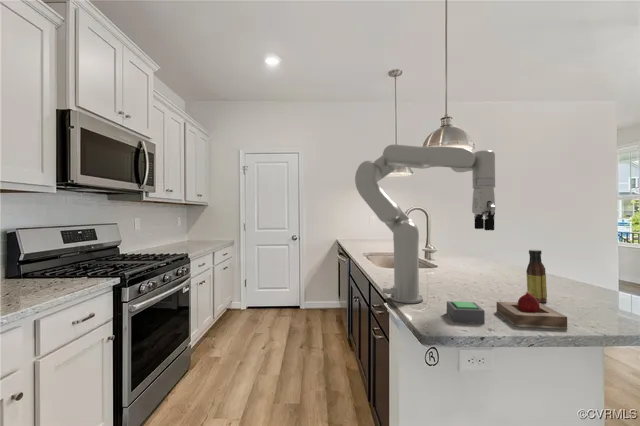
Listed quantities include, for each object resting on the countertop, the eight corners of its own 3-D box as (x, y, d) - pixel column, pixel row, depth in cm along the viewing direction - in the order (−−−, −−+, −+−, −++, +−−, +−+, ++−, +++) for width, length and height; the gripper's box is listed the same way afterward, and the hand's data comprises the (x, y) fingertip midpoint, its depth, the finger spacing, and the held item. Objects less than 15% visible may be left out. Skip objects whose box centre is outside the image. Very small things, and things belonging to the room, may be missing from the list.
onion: (544, 319, 96) (543, 294, 96) (525, 319, 96) (525, 294, 96) (531, 313, 101) (531, 289, 101) (514, 313, 102) (513, 289, 102)
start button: (457, 316, 98) (457, 306, 98) (452, 310, 104) (452, 301, 104) (477, 316, 97) (477, 307, 97) (471, 310, 103) (471, 302, 103)
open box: (516, 326, 93) (516, 314, 93) (496, 311, 107) (496, 301, 107) (567, 328, 91) (567, 316, 91) (540, 313, 104) (540, 303, 104)
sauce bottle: (540, 298, 122) (540, 249, 122) (550, 303, 116) (550, 251, 116) (523, 298, 123) (522, 249, 123) (532, 302, 117) (532, 250, 117)
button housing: (454, 322, 97) (454, 309, 97) (446, 312, 106) (446, 301, 106) (484, 323, 95) (484, 310, 95) (474, 313, 104) (474, 302, 104)
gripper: (465, 186, 124) (465, 228, 124) (481, 181, 107) (482, 230, 107) (485, 185, 123) (485, 228, 123) (504, 181, 106) (505, 230, 105)
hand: (484, 229), depth 115 cm, fingers open, 9 cm apart
